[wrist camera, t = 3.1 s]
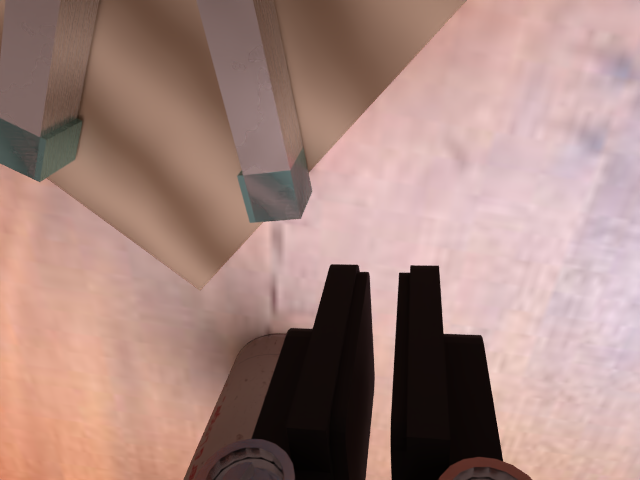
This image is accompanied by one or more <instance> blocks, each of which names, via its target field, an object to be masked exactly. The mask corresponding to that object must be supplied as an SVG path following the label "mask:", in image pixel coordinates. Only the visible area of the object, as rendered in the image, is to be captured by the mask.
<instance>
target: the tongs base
mask: <svg viewBox="0 0 640 480" xmlns="http://www.w3.org/2000/svg"><path fill="white" fill-rule="evenodd" d="M98 4H99V0H5V12H4V23H3V34H2V45H1V56H0V163H1V164H3V165H5V166H7V167H9V168H11V169H13V170H15V171H17V172H20V173H22V174H24V175H26V176H28V177H30V178H32V179H34V180H36V181H39V182H41V181H42V180H44V179H45V178H47V177H49V176H50V175H52V174H53V173H55V172H56V171H58V170H60V169H61V168H63V167H64V166H66V165H68V164H69V163H71V162H72V161H74V160H75V158H76V153H77V147H78V142H79V137H80V132H81V127H82V122H83V121H82V120H80V119H78V118H77V117H78V111H79V106H80V101H81V95H82V90H83V85H84V79H85V74H86V69H87V63H88V58H89V52H90V47H91V42H92V36H93V31H94V26H95V20H96V15H97V10H98Z"/></svg>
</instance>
